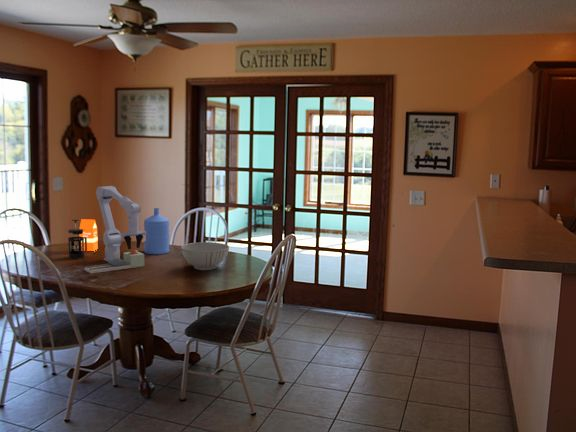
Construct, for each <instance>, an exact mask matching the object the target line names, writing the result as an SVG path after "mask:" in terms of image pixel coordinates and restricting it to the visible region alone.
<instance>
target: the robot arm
mask: <svg viewBox="0 0 576 432" xmlns="http://www.w3.org/2000/svg"><path fill="white" fill-rule="evenodd" d="M95 195H96V199H97V202H98V204H99V205H98V206H99V208H100V211H101V216H102V219H103V223H104V228H105V231H104V233H103V235H102V236H103V239H102V240H103V241H102V242H103V244H104V245H105V248H104V258H103V260H104V261H105V262H108V260H109V259H113V253H115V252H118V253H119V259H121V257H120V256H121V252H120V251H121V249H120V246H121V244H123V242H124V241H125V243H126V245H127V246H126V247H127V249H128V250H132V249H131V248H132V246H131V243H132V237H133V236H134V237H135V239H136V240H135V241H136V248H137V249H140V247H141V243H142V241H143V239H144V236H146V231H144V230H143V231H142V230H139V229H140V228H139V227H140V226H139V213H140V212H141V205H140V204H139V203H138V202H134V201H132V200H131V199H130V198H129V197H128V196H123V195H122V194H121V193H120V192H119V191H118V190H117V187H115V186H114V185H108V186H107V185H105V186H98V187H97V188H96V191H95ZM113 199H114V200H116V201H118V204H119V205H120V207H122V208H123V209H125V213H126V216H127V226H128V227H127V230H128V231H126V232H121V231H120V230H118V229H117V228H116V226H115V222H114V218H113V215H112V209H111V207H110V201H112V200H113ZM123 239H124V241H123Z"/></svg>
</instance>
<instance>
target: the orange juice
mask: <svg viewBox="0 0 576 432" xmlns="http://www.w3.org/2000/svg"><path fill="white" fill-rule="evenodd" d="M96 222H97V221H96V219H87V218H86V219H83V218H82V219H81V220H80V225H79V228H78V229H84V230H83V234H78V235H79V236H78V237H87V251H94V252H96V251H98V250H97V249H98V248H99V246H98V243H99V241H98V240H99V238H98V226H97V223H96ZM81 246H82V241H81ZM95 250H96V251H95ZM81 251H82V249H81ZM84 251H85V238H84Z"/></svg>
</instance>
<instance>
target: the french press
mask: <svg viewBox="0 0 576 432" xmlns="http://www.w3.org/2000/svg"><path fill="white" fill-rule="evenodd" d="M71 221H73V222H74V227H75V228H71V229H68V230H67V232H68V234H73V235H74V236H70V237H67V243H68V252H67V253H68V254H67V255H68V257H67V258H68V259H69V258H71V259H70V260H79V259H78V258H82V259H85V258H84V257H86V256H85V253H86V252H87V237H79V236H77V235H79V234H83V230H84V229H79V228H77V222H78V221H80V220H79V219H77V218H76V219H75V218H74V219H71ZM84 238H85V251H84ZM81 241H82V246H81ZM76 242H78V243H76ZM81 249H82V251H81ZM87 253H88V252H87Z"/></svg>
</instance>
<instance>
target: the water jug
mask: <svg viewBox="0 0 576 432" xmlns="http://www.w3.org/2000/svg"><path fill="white" fill-rule="evenodd" d="M143 229H144V230H143V231H146V235H145V240H144V243H143V245H144V248H143V249H144V250H143V252H144V254H147V255H164V254H168V253H169V252H170V219H169V218H167V217H165V216H162V215H161V214H160V208H158V207H156V208H153V215H151V216H149V217H147V218H144V220H143Z"/></svg>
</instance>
